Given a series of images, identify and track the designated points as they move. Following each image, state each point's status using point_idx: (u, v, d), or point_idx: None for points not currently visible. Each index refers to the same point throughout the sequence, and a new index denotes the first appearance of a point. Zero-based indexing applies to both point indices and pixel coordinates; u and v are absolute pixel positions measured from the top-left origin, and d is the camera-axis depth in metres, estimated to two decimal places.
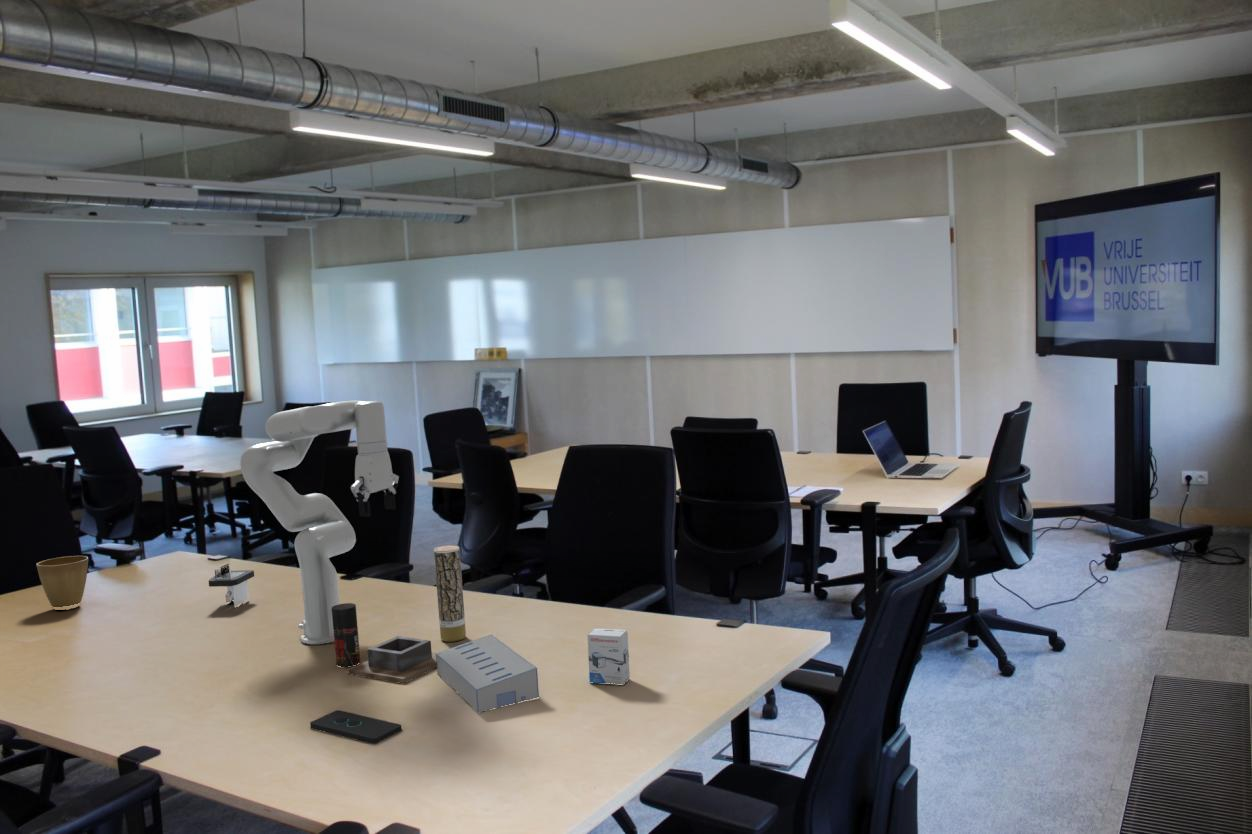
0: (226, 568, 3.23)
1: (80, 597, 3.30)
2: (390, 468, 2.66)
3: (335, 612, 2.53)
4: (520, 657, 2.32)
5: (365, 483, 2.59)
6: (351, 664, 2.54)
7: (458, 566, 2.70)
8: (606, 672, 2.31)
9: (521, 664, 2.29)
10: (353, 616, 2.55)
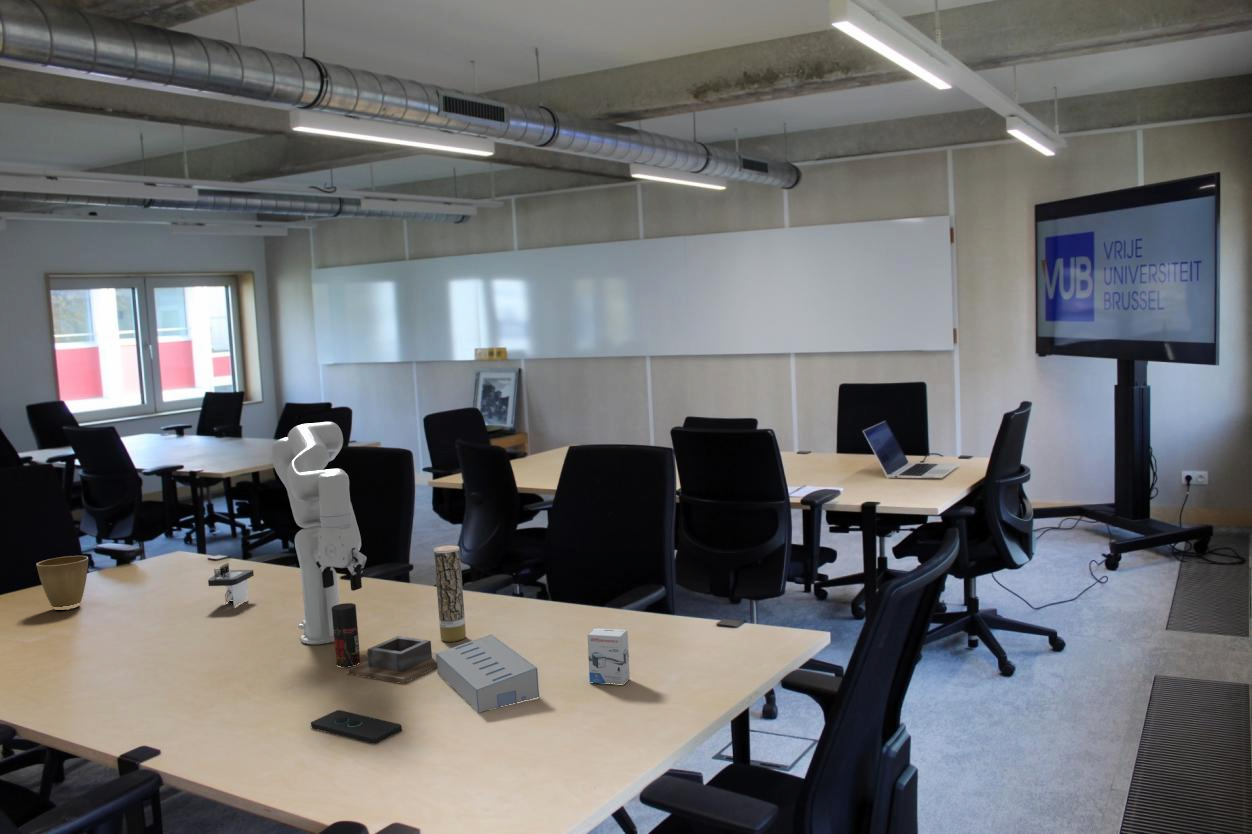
0: (225, 568, 3.24)
1: (80, 597, 3.30)
2: None
3: (335, 612, 2.53)
4: (520, 657, 2.32)
5: None
6: (351, 664, 2.54)
7: (458, 566, 2.70)
8: (606, 672, 2.31)
9: (521, 663, 2.29)
10: (353, 616, 2.55)
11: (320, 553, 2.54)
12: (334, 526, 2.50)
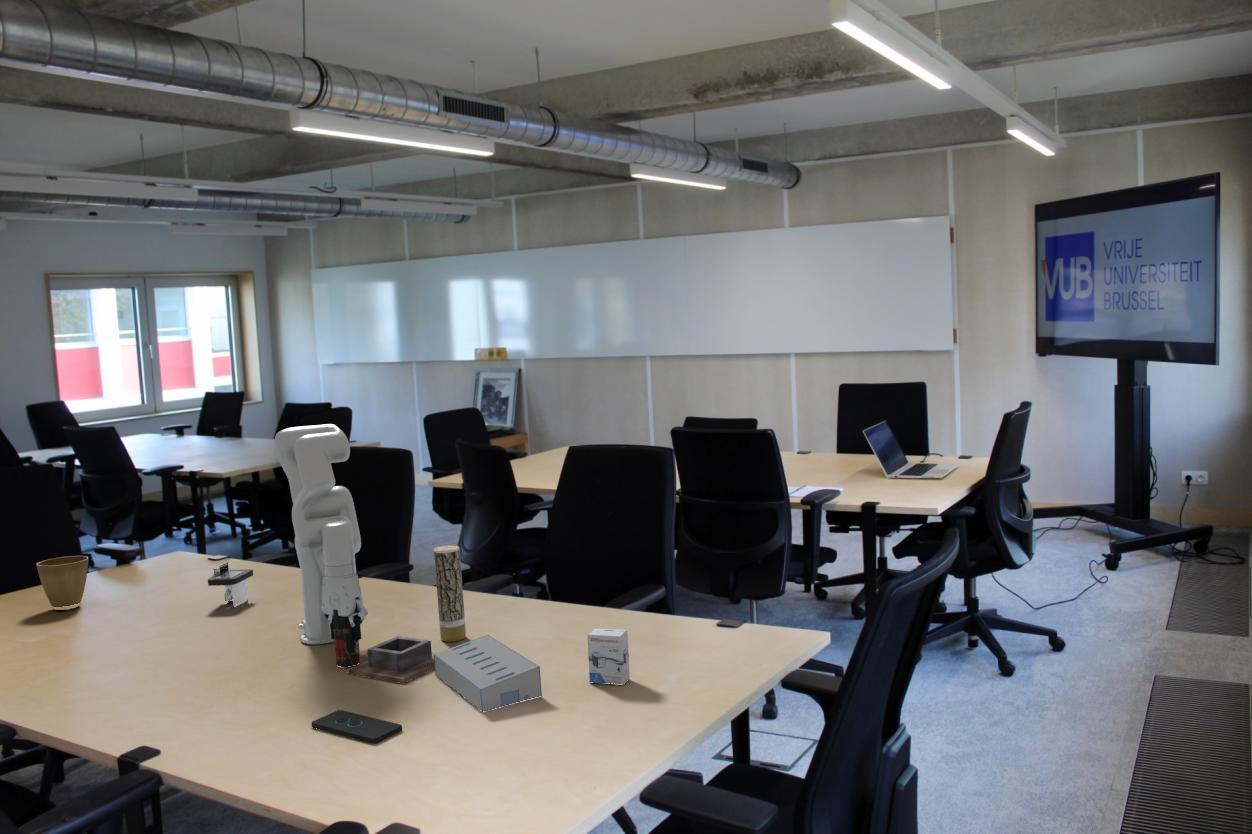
0: (225, 567, 3.24)
1: (80, 597, 3.30)
2: None
3: (335, 612, 2.53)
4: (521, 656, 2.33)
5: None
6: (351, 664, 2.54)
7: (458, 566, 2.70)
8: (606, 672, 2.31)
9: (523, 663, 2.29)
10: (353, 616, 2.55)
11: (324, 601, 2.55)
12: (338, 576, 2.51)
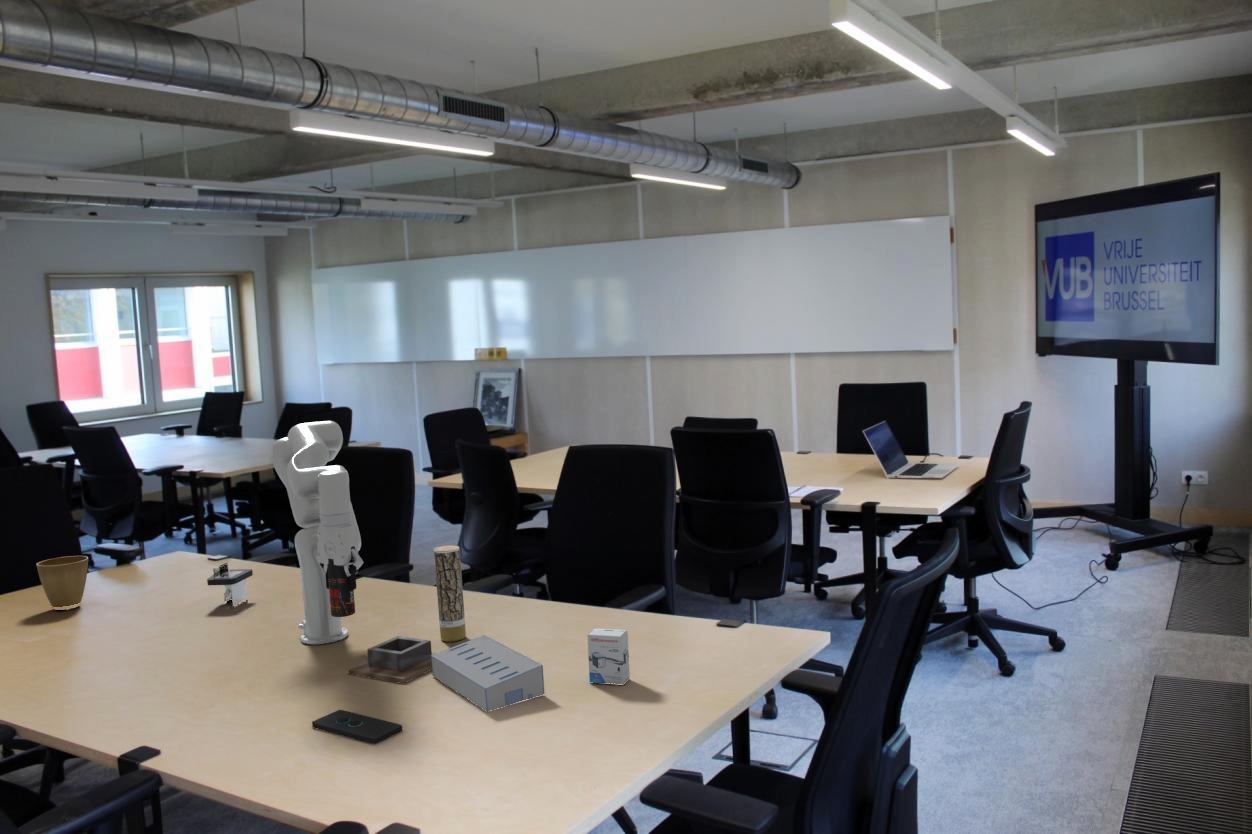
0: (225, 567, 3.25)
1: (80, 597, 3.30)
2: None
3: (330, 562, 2.52)
4: (522, 655, 2.34)
5: (356, 552, 2.53)
6: (346, 613, 2.54)
7: (458, 566, 2.70)
8: (606, 672, 2.31)
9: (524, 662, 2.30)
10: (349, 566, 2.54)
11: (320, 550, 2.54)
12: (334, 525, 2.50)
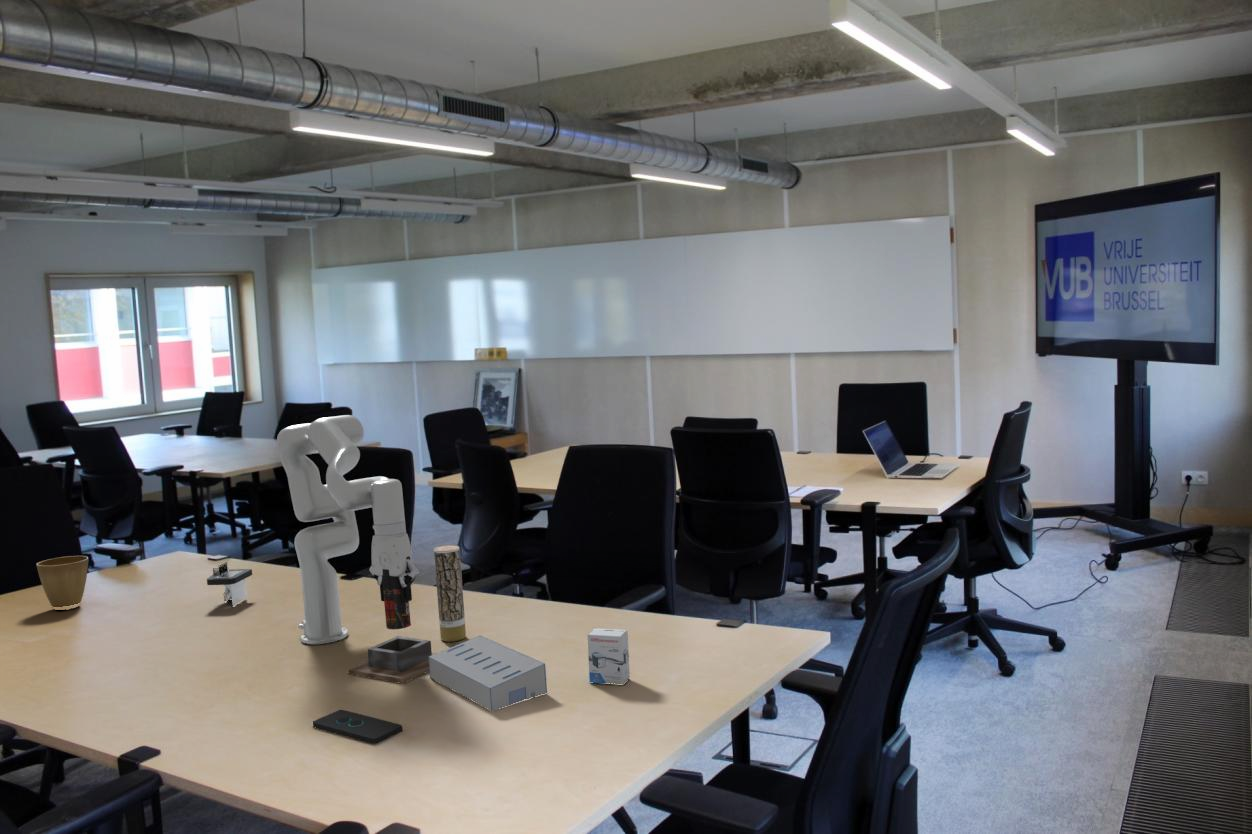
0: (224, 567, 3.25)
1: (80, 597, 3.30)
2: None
3: (385, 572, 2.47)
4: (522, 655, 2.34)
5: (411, 562, 2.48)
6: (402, 625, 2.48)
7: (458, 566, 2.70)
8: (606, 672, 2.31)
9: (526, 661, 2.30)
10: (404, 576, 2.49)
11: (374, 561, 2.49)
12: (388, 534, 2.45)
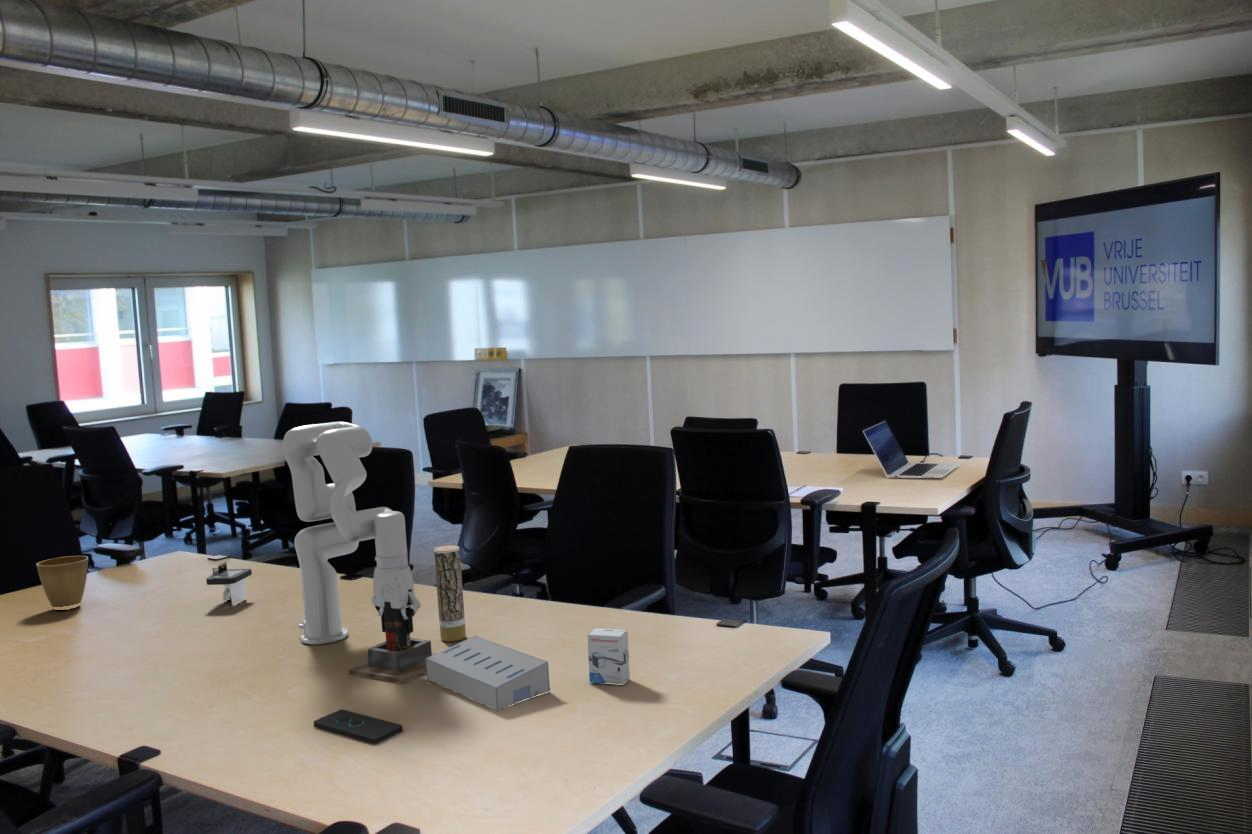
0: (224, 566, 3.25)
1: (80, 597, 3.30)
2: None
3: (387, 605, 2.48)
4: (522, 654, 2.35)
5: (413, 595, 2.49)
6: None
7: (458, 566, 2.70)
8: (606, 672, 2.31)
9: (528, 659, 2.31)
10: None
11: (376, 593, 2.50)
12: (391, 567, 2.46)
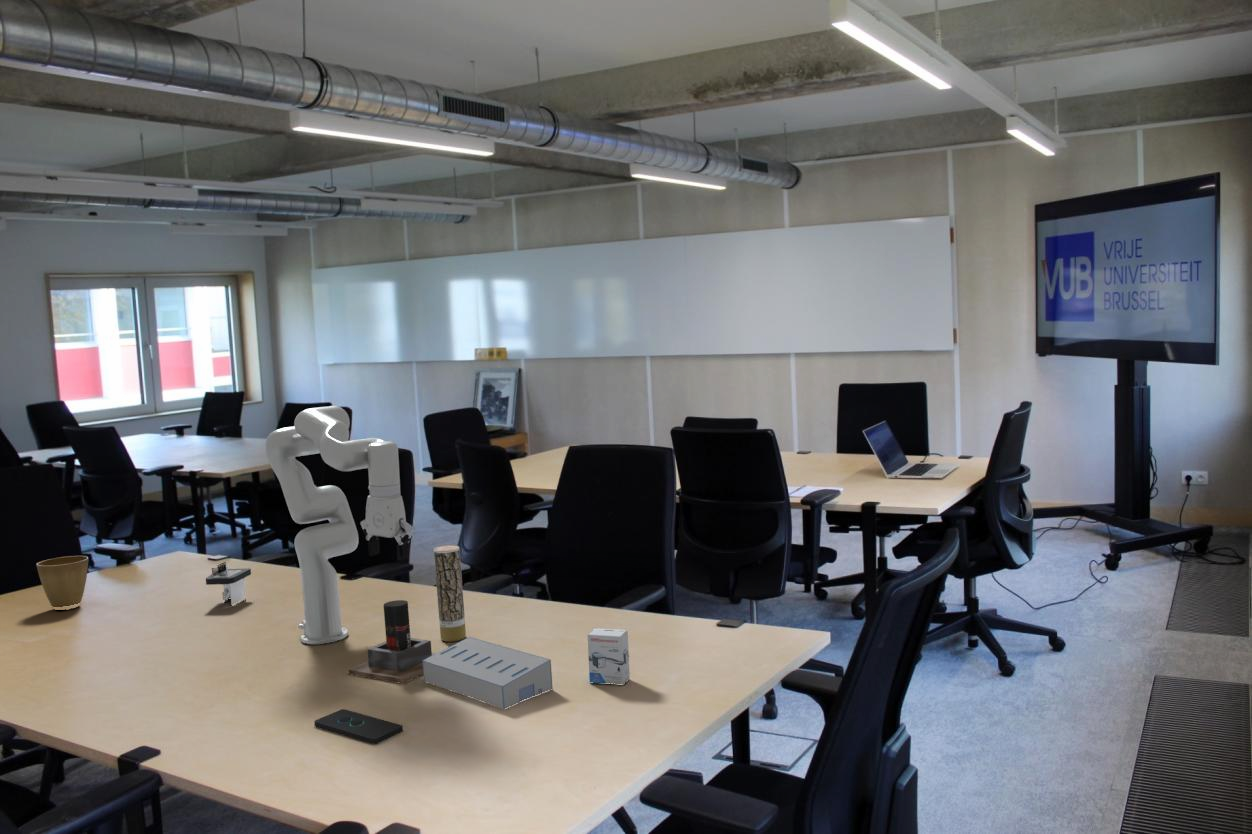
0: (223, 566, 3.26)
1: (80, 597, 3.30)
2: None
3: (388, 609, 2.48)
4: (523, 653, 2.36)
5: None
6: None
7: (458, 566, 2.70)
8: (606, 672, 2.31)
9: (529, 658, 2.32)
10: (406, 613, 2.50)
11: (368, 521, 2.54)
12: (383, 496, 2.49)
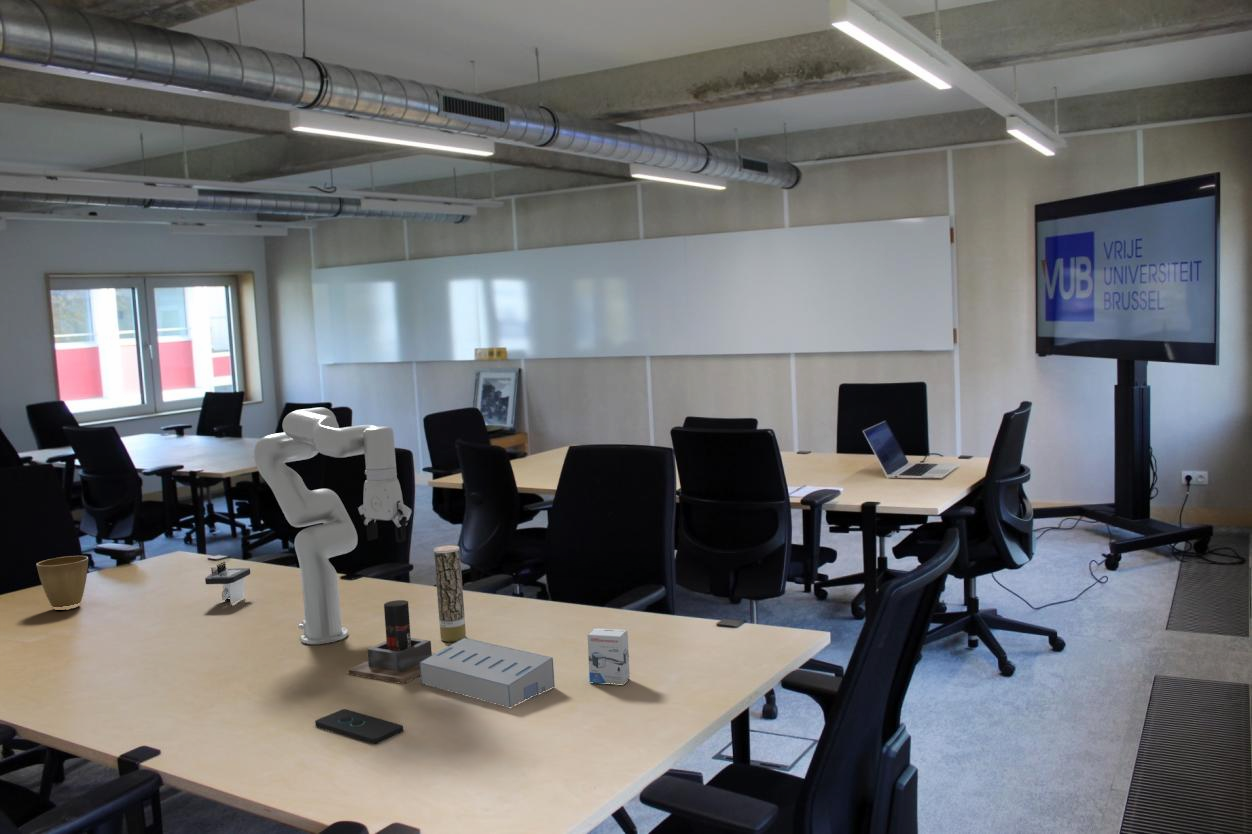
0: (222, 566, 3.26)
1: (80, 597, 3.30)
2: None
3: (388, 609, 2.48)
4: (523, 652, 2.36)
5: None
6: None
7: (458, 566, 2.70)
8: (606, 672, 2.31)
9: (531, 657, 2.33)
10: (406, 613, 2.50)
11: (366, 505, 2.58)
12: (380, 479, 2.54)
